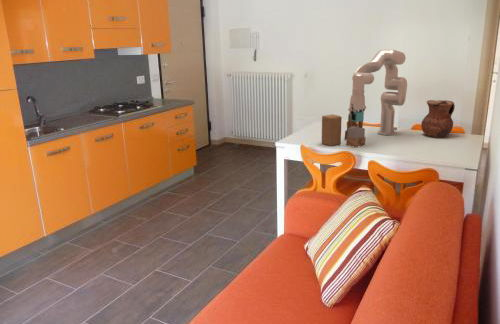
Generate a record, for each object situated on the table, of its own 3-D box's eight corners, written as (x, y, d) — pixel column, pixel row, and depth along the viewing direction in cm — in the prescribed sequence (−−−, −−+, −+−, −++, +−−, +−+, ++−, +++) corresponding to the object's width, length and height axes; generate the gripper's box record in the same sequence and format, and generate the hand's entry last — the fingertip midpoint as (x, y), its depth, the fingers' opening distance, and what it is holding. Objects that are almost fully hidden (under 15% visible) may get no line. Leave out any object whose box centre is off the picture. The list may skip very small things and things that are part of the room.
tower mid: (355, 134, 285) (356, 126, 283) (364, 137, 278) (364, 128, 276) (347, 136, 281) (347, 128, 279) (355, 138, 274) (356, 130, 272)
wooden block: (329, 146, 280) (330, 117, 274) (321, 143, 289) (321, 115, 283) (341, 144, 284) (342, 116, 279) (332, 141, 293) (332, 114, 287)
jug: (443, 140, 285) (447, 104, 278) (414, 135, 300) (417, 102, 293) (457, 134, 299) (461, 100, 291) (429, 130, 314) (432, 98, 307)
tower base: (355, 143, 287) (356, 134, 285) (365, 145, 280) (365, 137, 278) (346, 145, 283) (346, 136, 281) (355, 147, 275) (356, 139, 274)
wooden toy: (353, 140, 294) (354, 106, 286) (344, 139, 298) (345, 105, 290) (362, 136, 304) (364, 102, 297) (354, 135, 309) (356, 102, 301)
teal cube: (356, 119, 280) (357, 110, 278) (363, 120, 275) (363, 112, 273) (350, 120, 277) (350, 111, 275) (356, 122, 272) (357, 113, 270)
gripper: (363, 91, 278) (361, 117, 283) (344, 93, 269) (343, 120, 275) (371, 92, 272) (370, 118, 277) (352, 94, 263) (351, 122, 269)
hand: (356, 119), depth 276 cm, fingers closed on teal cube, 6 cm apart
